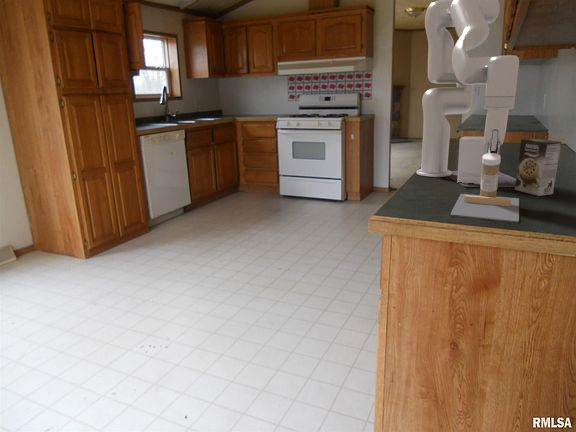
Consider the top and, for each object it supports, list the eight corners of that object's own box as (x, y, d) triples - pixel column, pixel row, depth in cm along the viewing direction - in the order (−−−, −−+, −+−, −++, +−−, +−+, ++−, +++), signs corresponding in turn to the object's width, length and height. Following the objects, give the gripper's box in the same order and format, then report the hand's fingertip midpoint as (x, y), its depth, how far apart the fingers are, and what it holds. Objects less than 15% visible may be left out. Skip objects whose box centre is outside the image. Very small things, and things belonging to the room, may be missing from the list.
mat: (460, 194, 134) (461, 188, 134) (518, 199, 127) (519, 192, 126) (450, 215, 114) (450, 207, 113) (518, 222, 107) (519, 214, 106)
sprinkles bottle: (482, 193, 128) (486, 151, 122) (498, 196, 126) (503, 153, 119) (476, 200, 126) (480, 157, 119) (493, 203, 123) (497, 160, 116)
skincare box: (485, 181, 151) (490, 136, 147) (481, 185, 146) (486, 138, 141) (460, 179, 156) (464, 135, 151) (455, 182, 150) (459, 137, 146)
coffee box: (513, 190, 139) (520, 139, 134) (528, 187, 141) (535, 137, 136) (538, 196, 130) (546, 142, 126) (554, 194, 132) (562, 140, 128)
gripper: (485, 102, 127) (479, 164, 132) (482, 104, 114) (475, 173, 120) (514, 102, 124) (506, 165, 129) (514, 104, 111) (505, 175, 116)
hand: (491, 169), depth 124 cm, fingers closed
